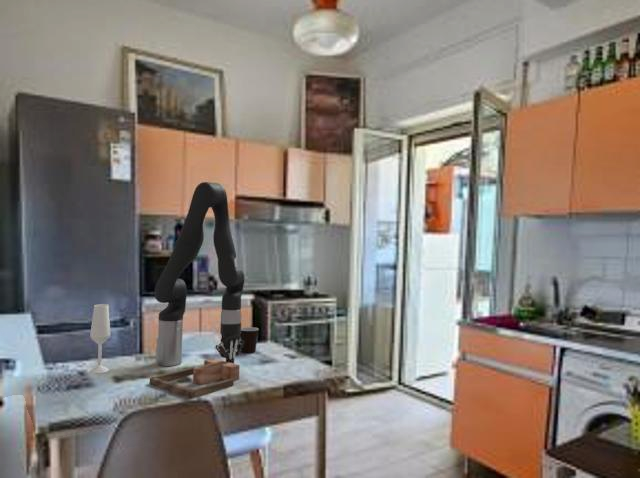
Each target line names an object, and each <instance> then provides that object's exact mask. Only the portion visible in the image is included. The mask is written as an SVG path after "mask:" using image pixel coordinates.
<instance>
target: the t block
mask: <svg viewBox="0 0 640 478" xmlns="http://www.w3.org/2000/svg"><path fill="white" fill-rule="evenodd" d="M240 366H241V365H240V364H237V363H234V364H233V363H229V362H226V360H221V359H217V358H213V357H212V358H208V359H204V360H203V365H199V366H195V367H193V368H194V371H193V374H192V375H193V376H192V379H193V380H192V383H194V384H197V385H200V386H201V385H206V384H207V383H208V384H209V383H211V382H212V383H213V382H215V381H219V380H222V381H224V380H228V379H233V380H234V381H238V380H240Z"/></svg>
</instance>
